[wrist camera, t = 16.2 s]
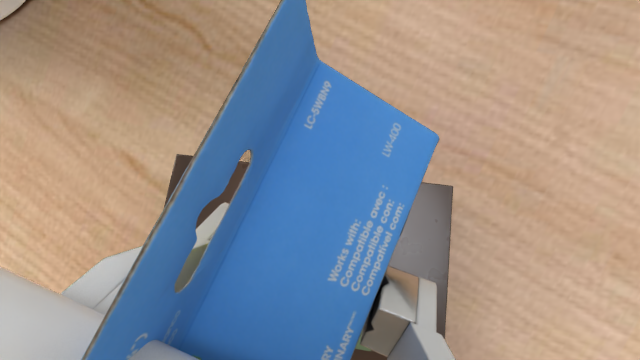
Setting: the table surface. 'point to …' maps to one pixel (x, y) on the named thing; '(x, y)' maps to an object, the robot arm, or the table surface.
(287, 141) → the blue cardboard box
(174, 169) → the desk shelf
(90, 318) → the robot arm
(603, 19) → the table surface
